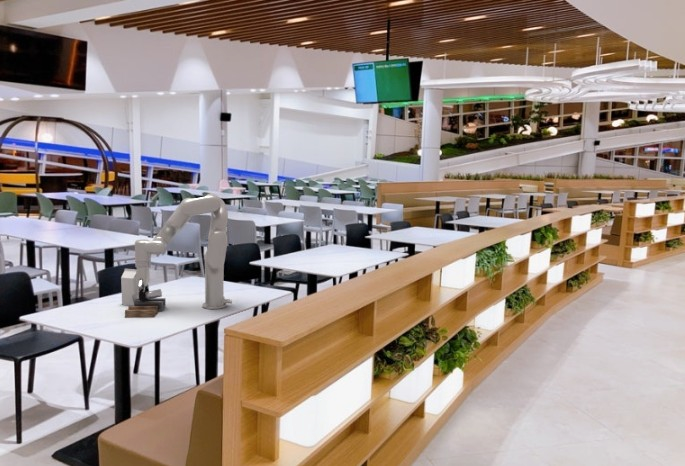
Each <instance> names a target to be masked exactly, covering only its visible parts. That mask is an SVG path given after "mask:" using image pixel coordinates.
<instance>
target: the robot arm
mask: <svg viewBox="0 0 685 466" xmlns="http://www.w3.org/2000/svg"><path fill="white" fill-rule="evenodd" d="M209 213H210V225H209V231H208V236H207V239H208V243H207V249H206V252H205V254H204V276H205V277H204V284H205V285H204V290H205V291H204V293H205V294H204V295H205V296H204V297H205V299H204V300H205V301H204V302H203V303H202V308H203V309H207V310H220V309H223V308H226V307H227V304H232V303H233V300H232V299H230V298H227V299H226V297H225V296H224V293H225V292H224V277H225V275H224V271H225V270H224V264H225V261H226V254H227V250H228V249H227V247H228V235H227V227H228V217H229V214H228V213H229V212H228V208H227V205H226V203H225V201H224V200H223V199H222V198H221V197H220V196H219V195H217V194H215V193H207V194H206V195H204V196H202V197H197V198H196V197H195V198H192V197H186V198H184V199H183V200H181V202H180V203H179V204H178V206H177V207H176V208H175V210H174V211H173V213H172V214H171V215H170V216H169V218H168V219H166V222H165V223H164V225H163V226H162V228H161V229H160V230H159V232H158V233H157V234H156V235H155V237H154V238H153V239H152V240H149V239H142V238H141V239H136V241H134V259H135V260H134V261H135V263H134V265H135V268H136V270H137V271H136V286H137V287H138V286H139V300H145V299H146V298H145V292H148V291H150V287H149V284H150V282H151V281H150V280H151V279H150V278H151V277H150V268H151V267H152V258H151V257H152V255H155V256H156V255H157V256H158V255H159V256H160V255H163V254H164V253H165V252H166V250H167V246H168V245H169V244H170V243H171V241H172V240H173V239H174V237H175V236H176V235H177V234H178V233H180V232H181V231H182V230H183V229H184V227H185V226H186V225H187V223H188V222H189V221H190V219H192V217H193V216H198V215H205V214H209Z"/></svg>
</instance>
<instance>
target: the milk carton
mask: <svg viewBox="0 0 685 466" xmlns="http://www.w3.org/2000/svg"><path fill="white" fill-rule="evenodd" d="M136 271H137V268H136V269H134V268H133V269H132V268H124V271H123V273H122V275H121V277H120V280H121V283H120V285H121V286H120V287H121V305H122V306H128V307H129V306H134V302H133V299H132V295H133V294H138V293H139V286H138V287H137V286H136Z"/></svg>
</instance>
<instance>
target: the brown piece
mask: <svg viewBox="0 0 685 466" xmlns="http://www.w3.org/2000/svg"><path fill="white" fill-rule="evenodd" d="M127 307H128V308H127V309H125V310H124V318H155V317H156V316H157V315H158V313H159V312H158V306H129V305H128V306H127Z"/></svg>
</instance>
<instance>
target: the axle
mask: <svg viewBox="0 0 685 466" xmlns="http://www.w3.org/2000/svg"><path fill="white" fill-rule="evenodd" d="M162 296H163V292H162V289H161V288H158V289H153V290H149V291H148V292H145V298H146V299H145V300H148V299H152V298H162ZM132 299H133V302H135V301H143V300H139V293H138V294H133V295H132Z"/></svg>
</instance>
